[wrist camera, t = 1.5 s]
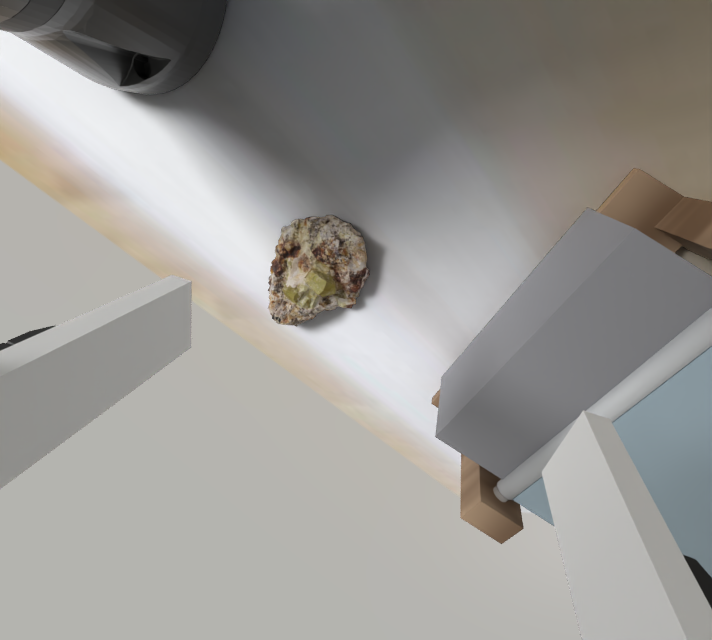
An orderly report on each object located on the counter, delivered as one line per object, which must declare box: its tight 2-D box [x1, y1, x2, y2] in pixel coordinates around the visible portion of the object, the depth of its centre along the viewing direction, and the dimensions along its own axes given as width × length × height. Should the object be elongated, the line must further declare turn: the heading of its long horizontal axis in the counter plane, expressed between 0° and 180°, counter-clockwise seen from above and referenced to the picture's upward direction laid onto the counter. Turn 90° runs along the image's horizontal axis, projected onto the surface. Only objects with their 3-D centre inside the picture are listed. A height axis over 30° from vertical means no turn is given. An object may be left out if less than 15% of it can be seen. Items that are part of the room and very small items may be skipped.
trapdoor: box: [435, 208, 712, 577], centre depth 22 cm, size 18×16×8 cm
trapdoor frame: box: [432, 168, 712, 544], centre depth 22 cm, size 6×21×10 cm, turn 151°
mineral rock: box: [268, 215, 370, 326], centre depth 29 cm, size 11×4×8 cm
